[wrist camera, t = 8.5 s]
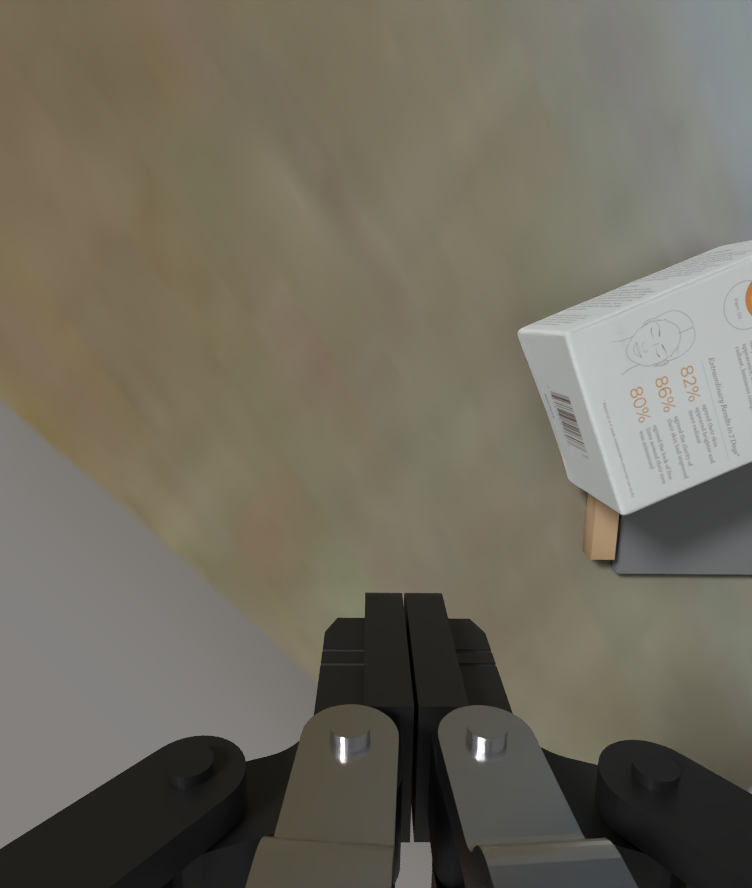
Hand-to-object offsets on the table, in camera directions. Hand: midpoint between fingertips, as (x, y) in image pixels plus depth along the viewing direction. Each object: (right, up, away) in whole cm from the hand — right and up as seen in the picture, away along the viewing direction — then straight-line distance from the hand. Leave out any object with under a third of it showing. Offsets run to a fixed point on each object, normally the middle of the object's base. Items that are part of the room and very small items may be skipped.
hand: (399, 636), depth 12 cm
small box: (+7, +5, +14) cm, 17 cm away
